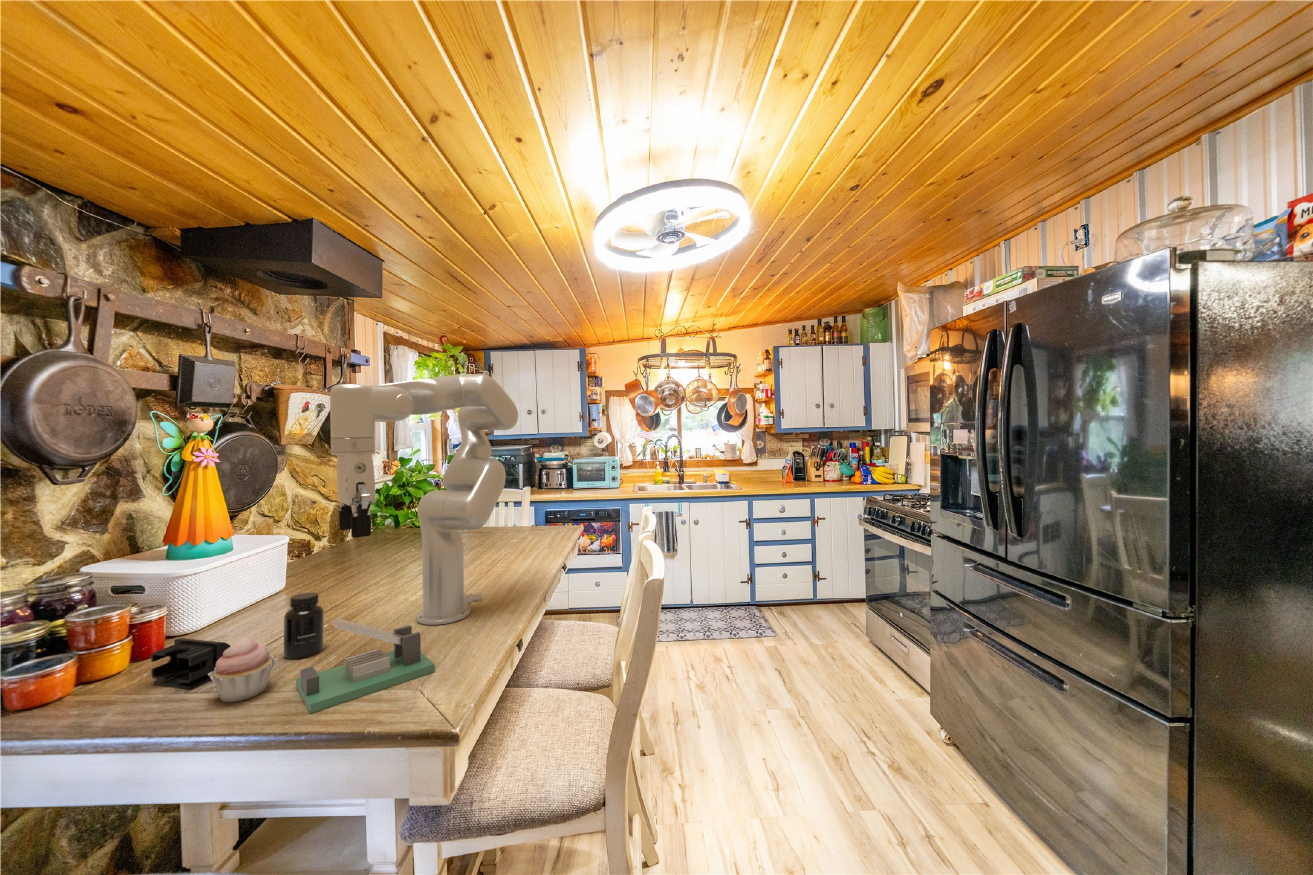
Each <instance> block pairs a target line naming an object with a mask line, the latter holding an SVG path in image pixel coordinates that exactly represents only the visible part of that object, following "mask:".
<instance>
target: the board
mask: <svg viewBox="0 0 1313 875" xmlns="http://www.w3.org/2000/svg"><path fill="white" fill-rule="evenodd" d="M412 630H413V628H412V625H405V626H401V627H398V628H394V629H393V633H396V634H400V635H405V636H402V645H399V644H395V643H393V650H391V651H388V652H384V650H382V648H378V649H374V650H372V651H368V652H363V653H361V654H357V655H354V656H350V657H346V658H345V659H344V660H345V662H344V664H342V665H340V666H335V667H333V668H329V669H325V670H322V671H318V672H317V671H316V669H315V668H314V666H312V665H311V666H309V667H305V668H302V669H300V677H297V678H295V688H296V690H297V691H298V693H299V695H300V697H301V699H302V700H303V704H305V706H306V708H307V710H308V712H309V714H313V713H316V712H320V711H322V710H326V709H328V708H331V707H334V706H337V705H340V704H343V703H346V702H349V701H352V700H355V699H358V698H361V697H364V696H367V695H370V694H373V693H376V692H379V691H382V690H385V689H387V688H390V687H394V686H397V685H399V684H402V683H405V682H409V681H412V680H415V679H416V678H417V679H418V678H420V677H423V676H426V675H429V674H432V673H435V672H436V664H435V663H434V662H433V661H432V660H431V659H430V658H428V657H427V656H426V655H425V654H423V653H422V652H421V648H422V647H421V643H422V642H421V637H422V636H421V634H422V633H421V632H420V631H417V632H412Z"/></svg>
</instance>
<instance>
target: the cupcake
mask: <svg viewBox="0 0 1313 875" xmlns="http://www.w3.org/2000/svg"><path fill="white" fill-rule="evenodd" d="M230 646H231V647H230V648H228V649H227V650H225V651H224V652H223V656H222V657H221V658H220V659H219V660H218V661H217V662H216V668H214V670H215V671H213V672H211V673H209V674H208V675H209V677H210V678H211V680H212V682H213V684H214V685H215V690H216V692H217V696H218V697H219V700H220V701H222V702H224V703H235V702H241V701H244V700H248V699H252V698H253V697H256V696H258V695H260V694H261V693H263V692H264V691H265V690H266V689H267V686H268V682H269V680H270V677H271V676H270V675H271V672H272V670H273V668H274V667H275V665H276V663H277V662H278V659H276V658H274V655H270V654H269V653H270V652H269V650H268V647H267V645H266V644H264V643H262V642H259V641H254V640H252V639H249V638H247V637H244V636H241V637H240V638H239V640H238V641H237V642H236V643H234V644H233V645H230Z"/></svg>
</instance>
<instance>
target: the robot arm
mask: <svg viewBox="0 0 1313 875" xmlns="http://www.w3.org/2000/svg"><path fill="white" fill-rule="evenodd" d="M329 392H330V393H329V407H330V408H329V409H330V410H329V415H330V422H329V423H330V455H331V456H336V457H337V458H336V496H337V500H338V502H339V510H338V515H339V516H338V517H339V518H338V519H339V520H338V521H339V525H338V526H339V530H340V531H347V530H351V534H350V536H351V538H353V539H357V538H363V537H370V536H371V535H372V520H371V519H372V516H371V515H372V513H371V505H373V504H374V503H376V501H377V500H376V499H377V497H376V496H377V493H376V481H375V479H376V478H375V477H376V476H375V468H374V467H375V466H374V460H373V459H374V458H373V455H375V454H376V423H378V422H379V423H395V422H400V421H403V420H405V419H407V418H408V417H410V416H412V415H413V416H415V415H416V416H419V415H430V414H431V415H432V414H437V413H441V412H445V411H449V410H450V411H451V410H455V409H458V412H457V419H458V420H457V422H458V424H459V429H460V434H461V442H460V444H459V446H458V449H457V450H456V452H455V454H454V456H453V457H452V459H451V461H450V463H449V464H448V466H447V467H446V469H445V471H444V474H443V476H442V477H443V478H442V483H443V487H444V488H445V489H439V490H432V491H429V492H427V493H426V494H424V495H423V496H422V497H421V498H420V500H419V502H418V506H417V518H418V521H419V527H420V533H421V540H422V541H421V542H422V543H421V546H422V609H421V610H419V611H418V612H417V613H416V614H415V621H416V622H417V623H419V624H422V625H427V626H436V625H447V624H451V623H455V622H458V621H460V620H463V619H465V618H467V617H468V616H469V615H470V614H471V607H470V605H472V603H478V602H482V601H483V599H484V598H483V594H482V593H477V594H474V593H467V594H466V593H465V591H464V590H465V587H464V586H465V584H464V582H465V581H464V580H465V579H464V578H465V577H464V576H465V574H464V573H465V572H464V568H465V567H464V565H465V564H464V563H465V562H464V558H465V557H464V556H465V554H464V553H465V552H464V550H465V549H464V541H463V538H462V536H461V534H460V532H459V530H461V531H462V530H463V531H475V530H480V529H482V528H483V527H484V526H485V525H486V524H487V522H488V520H489V518H490V517H491V515H492V513H493V511H494V509H495V506H496V505H497V503H498V500H499V499H500V496H501V494H502V493H503V490H504V487H505V485H506V479H507V478H506V476H507V475H506V469H505V466H504V464H503V463H502V462H501V461H499V460H498V459H494V458H491V456H492V451H493V450H492V446H491V443H490V441H489V439H488V437H487V436H486V433H485V431H508V430H511V429H513V428H514V427H515V426H516V425H517V423H518V421H519V411H518V408H517V406H516V404H515V402H514V401H513V399H512V398H511V397H510V396H509V394H508V393H507V392H506V391H505V390H504V388H503V387H502V386H501V385H500V384H499V383H498V382H497V381H496V380H495V379H494V378H493V377H491V376H490V375H488V374H485V373H473V374H469V373H468V374H453V375H452V374H451V375H445V376H436V377H427V378H419V379H411V380H405V381H399V382H390V383H382V384H381V383H380V384H372V385H365V384H355V383H354V384H352V383H351V384H350V383H342V384H335V385H333V386H332V387H331V389H330V391H329Z"/></svg>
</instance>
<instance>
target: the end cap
mask: <svg viewBox="0 0 1313 875" xmlns="http://www.w3.org/2000/svg"><path fill="white" fill-rule="evenodd" d="M231 646H232V645H230V644H229V643H227V642H223V641H212V640H211V641H210V640H206V639H205V640H203V639H194V638H184V637H183V638H182V637H181V638H177V639H174V644H173V645H169V646H167V647H164V648H162V649H159V650H157V651H154V652H152V653H151V655H150V656H151V662H152V663H154V662H157V661H160V660H163V659H164V658H168V657H169V660H168V661H167V662H166V663H162V664H160V665H158V666H155V667H153V668H151V670H150V671H151V672H150V673H151V678H152V679H154V681H153V682H152V683H153V686H156V685H157V686H159V687H166V688H173V689H180V690H181V689H182V690H188V691H189V690H194V689H196V688H199V687H201V686H203V685H205V684H207V683H210V682H211V681H212V680H211V678H210V677H209V675H208V674H209V673H211V672H213V671H215V670H214V668H216V662H217V661H218V660H219V659H220V658H221V657H222V656H223V652H224V651H225V650H227V649H228V648H230V647H231ZM212 682H213V681H212Z"/></svg>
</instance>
